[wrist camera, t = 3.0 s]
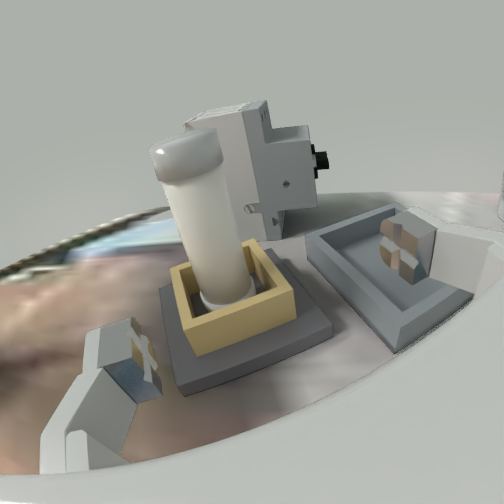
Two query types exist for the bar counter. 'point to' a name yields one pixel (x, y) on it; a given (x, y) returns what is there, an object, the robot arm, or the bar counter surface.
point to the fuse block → (238, 324)
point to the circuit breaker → (263, 167)
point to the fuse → (204, 215)
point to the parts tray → (380, 280)
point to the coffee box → (501, 202)
